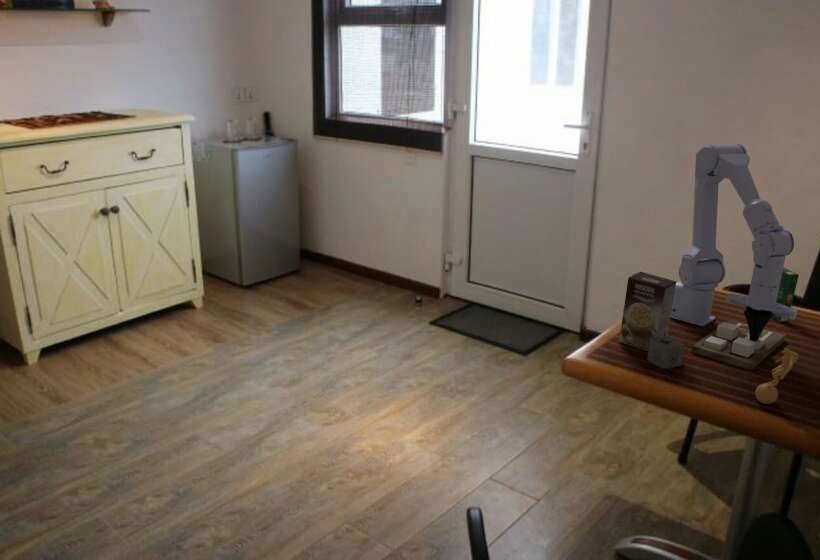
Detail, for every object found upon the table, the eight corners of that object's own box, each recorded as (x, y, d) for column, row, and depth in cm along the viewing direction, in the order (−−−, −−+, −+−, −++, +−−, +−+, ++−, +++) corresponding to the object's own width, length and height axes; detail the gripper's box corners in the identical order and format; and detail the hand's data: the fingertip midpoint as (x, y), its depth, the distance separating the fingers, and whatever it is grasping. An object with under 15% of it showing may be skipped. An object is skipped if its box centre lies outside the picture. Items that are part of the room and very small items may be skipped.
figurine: (752, 391, 146) (763, 336, 142) (785, 397, 144) (797, 342, 140) (754, 410, 139) (766, 353, 135) (789, 416, 137) (802, 358, 133)
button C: (702, 350, 164) (704, 340, 164) (709, 346, 167) (710, 335, 166) (718, 355, 162) (720, 345, 161) (724, 351, 165) (726, 340, 164)
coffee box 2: (789, 322, 184) (800, 273, 179) (779, 323, 183) (790, 274, 179) (768, 311, 191) (777, 263, 187) (758, 311, 190) (768, 264, 186)
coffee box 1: (617, 342, 168) (626, 276, 163) (630, 334, 173) (639, 270, 168) (654, 354, 162) (665, 286, 157) (667, 346, 167) (677, 280, 162)
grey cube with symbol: (647, 360, 160) (650, 339, 158) (665, 356, 161) (668, 336, 160) (663, 369, 155) (666, 348, 154) (681, 366, 157) (684, 344, 155)
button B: (741, 350, 166) (743, 339, 165) (746, 345, 168) (748, 335, 167) (757, 354, 163) (759, 344, 162) (762, 350, 166) (764, 339, 165)
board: (691, 352, 164) (692, 344, 163) (728, 325, 180) (730, 318, 180) (750, 370, 156) (752, 362, 155) (784, 340, 172) (786, 333, 171)
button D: (731, 352, 160) (733, 341, 159) (736, 347, 163) (738, 337, 162) (747, 357, 158) (750, 346, 157) (753, 352, 160) (755, 341, 160)
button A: (715, 336, 169) (717, 325, 168) (721, 331, 171) (723, 321, 171) (731, 340, 167) (733, 330, 166) (737, 336, 169) (739, 326, 168)
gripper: (725, 279, 162) (715, 335, 167) (794, 295, 153) (782, 354, 157) (736, 273, 167) (726, 327, 172) (804, 288, 158) (792, 345, 162)
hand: (754, 340), depth 165 cm, fingers closed, pressing on button B
